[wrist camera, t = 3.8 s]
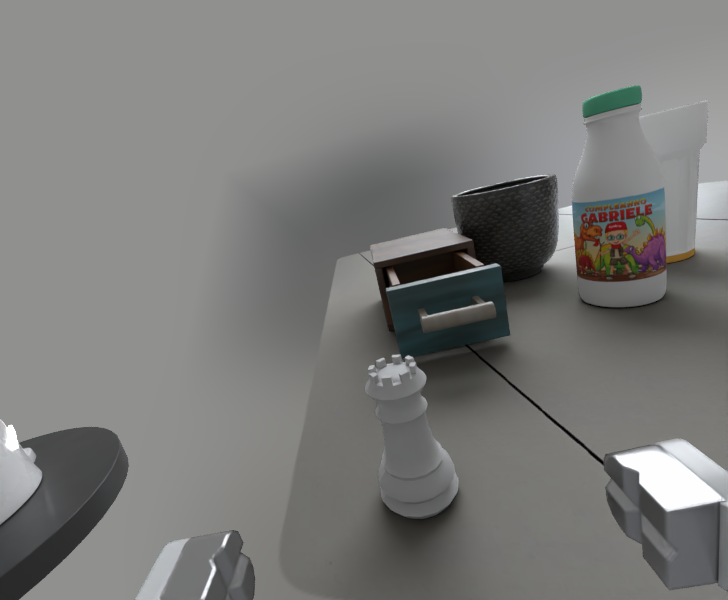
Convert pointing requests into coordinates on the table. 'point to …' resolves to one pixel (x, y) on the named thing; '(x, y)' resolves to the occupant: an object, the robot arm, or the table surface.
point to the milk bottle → (618, 206)
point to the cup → (678, 170)
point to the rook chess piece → (409, 443)
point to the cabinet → (414, 255)
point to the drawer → (445, 303)
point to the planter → (511, 223)
